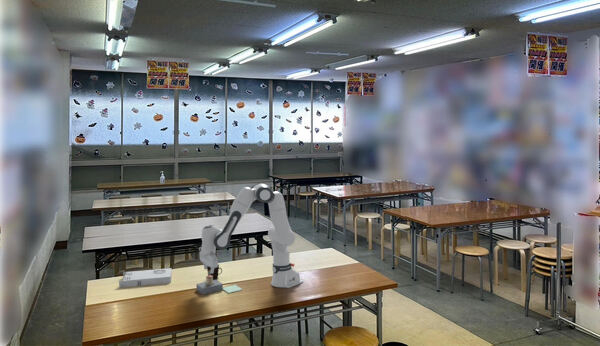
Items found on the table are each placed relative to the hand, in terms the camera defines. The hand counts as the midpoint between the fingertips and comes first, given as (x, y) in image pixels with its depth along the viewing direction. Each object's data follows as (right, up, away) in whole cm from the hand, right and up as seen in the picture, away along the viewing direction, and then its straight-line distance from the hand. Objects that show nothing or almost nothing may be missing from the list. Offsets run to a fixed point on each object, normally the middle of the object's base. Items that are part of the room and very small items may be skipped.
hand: (208, 271), depth 269 cm
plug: (0, -13, +1) cm, 13 cm away
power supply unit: (-48, -12, +19) cm, 53 cm away
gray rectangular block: (0, -13, +1) cm, 13 cm away
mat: (+15, -13, +2) cm, 20 cm away
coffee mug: (-1, -11, +22) cm, 24 cm away
